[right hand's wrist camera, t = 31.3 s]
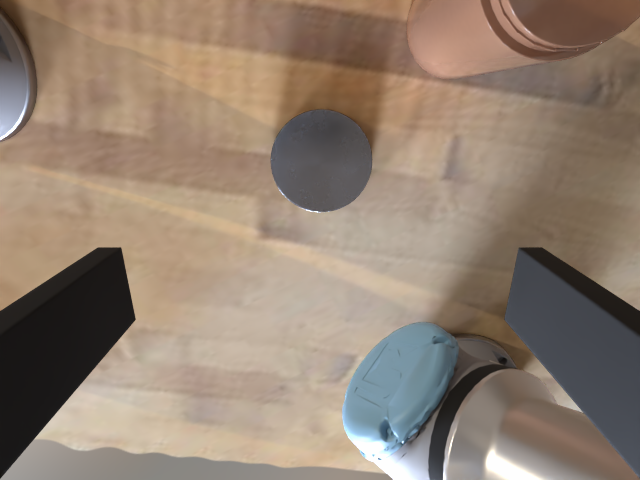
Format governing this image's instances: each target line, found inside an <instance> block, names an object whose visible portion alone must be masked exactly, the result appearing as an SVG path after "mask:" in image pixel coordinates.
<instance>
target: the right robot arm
mask: <svg viewBox="0 0 640 480" xmlns="http://www.w3.org/2000/svg"><path fill="white" fill-rule="evenodd" d="M36 96H37V78H36V71H35V67H34V62H33V59H32V56H31V53H30V51H29V49H28V46H27V44H26V42H25V40H24V38H23V37H22V35H21V33H20V32H19V30H18V28H17V27H16V26H15V24H14V23H13V21H12V20H11V19H10V18H9V17H8V15H7V14H6V13H5V12H4V11H3V10H2V9H1V8H0V142H1V141H4V140H6V139H8V138H10V137H12V136H14V135H15V134H16V133H18V132H19V131H20V130H21V129H22V128H23V127H24V126H25V124H26V123H27V122H28V120H29V118H30V116H31V114H32V112H33V109H34V106H35V102H36ZM135 320H136V319H135V314H134V309H133V304H132V299H131V294H130V289H129V284H128V279H127V274H126V269H125V264H124V259H123V254H122V249H121V248H97V249H95V250H93V251H92V252H90V253H89V254H87V255H86V256H84V257H83V258H81V259H80V260H78V261H77V262H75V263H74V264H72V265H70V266H69V267H67V268H66V269H64V270H63V271H61V272H60V273H58V274H57V275H55V276H54V277H52V278H50V279H49V280H47V281H46V282H44V283H43V284H41V285H40V286H38V287H37V288H35V289H34V290H32V291H30V292H29V293H27V294H26V295H24V296H23V297H21V298H20V299H18V300H17V301H15V302H14V303H12V304H11V305H9V306H7V307H6V308H4V309H3V310H1V311H0V478H1V477H2V476H3V475H4V474H5V473H6V471H7V470H8V469H9V468H10V467H11V465H12V464H13V463H14V462H15V461H16V460H17V458H18V457H19V456H20V455H21V454H22V453H23V451H24V450H25V449H26V448H27V447H28V446H29V444H30V443H31V442H32V441H33V440H34V438H35V437H36V436H37V435H38V434H39V433H40V431H41V430H42V429H43V428H44V427H45V426H46V424H47V423H48V422H49V421H50V420H51V418H52V417H53V416H54V415H55V414H56V413H57V411H58V410H59V409H60V408H61V407H62V406H63V404H64V403H65V402H66V401H67V400H68V399H69V397H70V396H71V395H72V394H73V393H74V391H75V390H76V389H77V388H78V387H79V386H80V384H81V383H82V382H83V381H84V380H85V379H86V377H87V376H88V375H89V374H90V373H91V372H92V370H93V369H94V368H95V367H96V366H97V364H98V363H99V362H100V361H101V360H102V359H103V357H104V356H105V355H106V354H107V353H108V352H109V350H110V349H111V348H112V347H113V346H114V344H115V343H116V342H117V341H118V340H119V339H120V337H121V336H122V335H123V334H124V333H125V332H126V330H127V329H128V328H129V327H130V326H131V325H132V323H133V322H134V321H135ZM504 320H505V321H506V322H507V323H508V325H509V326H510V327H511V328H512V329H513V330H514V332H515V333H516V334H517V335H518V336H519V337H520V339H521V340H522V341H523V342H524V343H525V344H526V346H527V347H528V348H529V349H530V350H531V352H532V353H533V354H534V355H535V356H536V357H537V359H538V360H539V361H540V362H541V363H542V364H543V366H544V367H545V368H546V369H547V370H548V372H549V373H550V374H551V375H552V376H553V377H554V379H555V380H556V381H557V382H558V383H559V384H560V386H561V387H562V388H563V389H564V390H565V391H566V393H567V394H568V395H569V396H570V397H571V399H572V400H573V401H574V402H575V403H576V404H577V406H578V407H579V408H580V409H581V410H582V411H583V413H584V414H585V415H586V416H587V417H588V418H589V420H590V421H591V422H592V423H593V424H594V426H595V427H596V428H597V429H598V430H599V431H600V433H601V434H602V435H603V436H604V437H605V438H606V440H607V441H608V442H609V443H610V444H611V446H612V447H613V448H614V449H615V450H616V451H617V453H618V454H619V455H620V456H621V457H622V458H623V460H624V461H625V462H626V463H627V464H628V465H629V467H630V468H631V469H632V470H633V471H634V473H635V474H636V475H637V476H638V477H639V478H640V311H639V310H637V309H636V308H634V307H633V306H631V305H629V304H628V303H626V302H625V301H623V300H622V299H620V298H619V297H617V296H616V295H614V294H613V293H611V292H610V291H608V290H606V289H605V288H603V287H602V286H600V285H599V284H597V283H596V282H594V281H593V280H591V279H590V278H588V277H586V276H585V275H583V274H582V273H580V272H579V271H577V270H576V269H574V268H573V267H571V266H570V265H568V264H566V263H565V262H563V261H562V260H560V259H559V258H557V257H556V256H554V255H553V254H551V253H550V252H548V251H547V250H545V249H543V248H519V249H518V254H517V259H516V264H515V269H514V274H513V279H512V284H511V289H510V294H509V299H508V304H507V309H506V314H505V319H504Z"/></svg>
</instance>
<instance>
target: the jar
mask: <svg viewBox="0 0 640 480" xmlns="http://www.w3.org/2000/svg"><path fill="white" fill-rule="evenodd" d="M639 17H640V0H414V1H413V3H412V5H411V8H410V11H409V15H408V20H407V39H408V44H409V48H410V50H411V53H412V55H413V57H414V59H415V60H416V62H417V63H418V64H419V65H420V66H421V67H422V68H423V69H424V70H425V71H426V72H428V73H429V74H431V75H433V76H436V77H438V78H443V79H459V78H465V77H470V76H476V75H482V74H487V73H493V72H499V71H504V70H510V69H516V68H521V67H527V66H532V65H538V64H544V63H549V62H555V61H561V60H565V59H570V58H573V57H576V56H579V55H581V54H584V53H586V52H588V51H590V50H592V49H594V48H596V47H597V46H599V45H600V44H602V43H604V42H605V41H607V40H609V39H610V38H612V37H614V36H615V35H617V34H619V33H620V32H622V31H624V30H626V29H627V28H628V27H629V26H630V25H631V24H632V23H633V22H634V21H635V20H637V19H638V18H639Z"/></svg>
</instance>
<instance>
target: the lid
mask: <svg viewBox="0 0 640 480" xmlns="http://www.w3.org/2000/svg"><path fill="white" fill-rule="evenodd" d="M371 168H372V152H371V148H370V145H369V142H368V139H367V137H366V135H365V134H364V132H363V131H362V129H361V128H360V127H359V126H358V125H357V124H356V123H355V122H354V121H353V120H351V119H350V118H349V117H347V116H345V115H343V114H341V113H339V112H336V111H332V110H326V109H317V110H310V111H307V112H304V113H302V114H300V115H298V116H296V117H295V118H293V119H291V120H290V121H289V122H288V123H287V124H286V125H285V126H284V127H283V128H282V129H281V131H280V132H279V134H278V135H277V137H276V139H275V142H274V144H273V148H272V152H271V169H272V174H273V177H274V180H275V182H276V184H277V186H278V188H279V189H280V191H281V192H282V194H283V195H284V196H285V197H286V198H287V199H288V200H289V201H291V202H292V203H293V204H295V205H297V206H299V207H301V208H303V209H306V210H309V211H315V212H328V211H333V210H337V209H340V208H342V207H344V206H346V205H348V204H349V203H351V202H352V201H353V200H355V199H356V198H357V197H358V196H359V195H360V193H361V192H362V191H363V189H364V188H365V186H366V184H367V182H368V180H369V177H370V174H371Z"/></svg>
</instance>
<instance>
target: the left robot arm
mask: <svg viewBox="0 0 640 480" xmlns="http://www.w3.org/2000/svg"><path fill="white" fill-rule="evenodd" d="M343 424H344V428H345V431H346V433H347V435H348V437H349V438H350V439H351V441H352V442H353V443H354V444H355V445H356V446H357V447H358V448H359V449H360V452H361V454H362V455H363V456H364V457H365V458H366V459H368V460H370V461H373V462H374V463H376V464H377V465H378V466H379V467H380V468H381V469H382V470H384V471H385V472H386V473H387V474H388V475H389V476H390V477H392V478H393V479H394V480H640V478H639V477H638V476H637V475H636V474H635V473H634V471H633V470H632V469H631V468H630V467H629V465H628V464H627V463H626V462H625V461H624V460H623V458H622V457H621V456H620V455H619V454H618V453H617V451H616V450H615V449H614V448H613V447H612V446H611V444H610V443H609V442H608V441H607V440H606V438H605V437H604V436H603V435H602V434H601V433H600V431H599V430H598V429H597V428H596V427H595V426H594V424H593V423H592V422H591V421H590V420H589V418H588V417H587V416H586V415H585V414H584V413H582V412H579V411H576V410H573V409H569V408H566V407H563V406H560V405H558V404H557V402H556V400H555V398H554V396H553V395H552V393H551V392H550V390H549V388H548V387H547V386H546V385H545V384H544V383H543V382H542V381H541V380H540V379H539V378H537V377H535V376H534V375H532V374H530V373H527V372H525V371H522V370H520V369H517V367H516V365H515V363H514V361H513V360H512V359H511V357H510V356H509V355H508V353H507V352H506V351H505V350H504V348H503V347H501V346H500V345H499V344H498V343H496V342H495V341H493V340H491V339H488V338H486V337H483V336H479V335H473V334H456V335H451V334H450V333H447V332H446V331H445V330H444V329H442V328H441V327H439V326H438V325H436V324H433V323H428V322H419V323H413V324H409V325H406V326H404V327H402V328H400V329H398V330H396V331H394V332H393V333H391V334H390V335H389V336H388V337H386V338H384V339H383V340H382V341H381V342H379V343H378V344H377V345H376V346H375V347H374V348H373V349H372V350H371V351H370V353H369V354H368V355H367V356H366V357H365V359H364V360H363V361H362V363H361V364H360V365H359V367H358V368H357V370H356V372H355V373H354V375H353V377H352V379H351V381H350V383H349V386H348V388H347V391H346V394H345V401H344V404H343Z"/></svg>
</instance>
